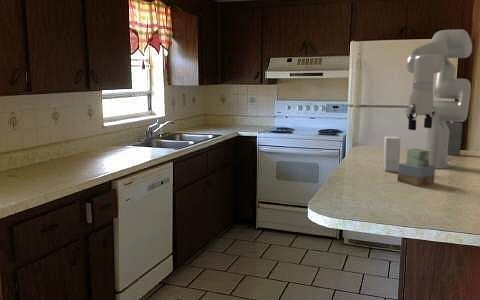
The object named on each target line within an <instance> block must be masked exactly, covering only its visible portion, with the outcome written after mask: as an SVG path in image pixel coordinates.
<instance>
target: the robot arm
mask: <svg viewBox="0 0 480 300" xmlns="http://www.w3.org/2000/svg"><path fill="white" fill-rule="evenodd" d="M472 51H473V44H472V39H471V37H470V35H469V32H468V31H466V30H465V29H462V28H461V29H459V28H458V29H443V30H439V31H437V32H435V33H434V34H433V36H432V38H431V40H430V41H429V42H428V43H425V44H423V45H421V46H418V47H416V48H415V49H413V50H412V51H411V53H410V54H409V56H408V57H407V60H406V69H407V71H408V72H409V73H410V74H413V79H412V89H411V90H410V95H409V99H408V100H409V101H408V107H407V108H406V109H405V113H406V117H407V120H408V130H409V131H416V130H417V118H418V116H425V117H424V122H423V123H424V124H423V128H425V129H427V134H426V147H425V150H428V151H430V153H429V164H431V165H435V170H436V169H440V170H445V169H449V168H451V164H450V163H448V162H451V161H452V160H453V158H452V157H451V156H449V157H448V155H447V152H448V141H449V129H448V127H447V125H446V124H445V123H444V122H445V121H450V123H463V122H465V121H466V120H467V118H468V113H469V107H470V99H471V91H472V87H471V86H472V85H471V82H470V80H468V79H467V78H456V77H455V76H456V66H455V65H454V64H453V62H452V61H451V60H450V59H466V58H468V57H470V55H471V54H472ZM434 97H435V98H437V99H446V100H434ZM447 99H448V100H447ZM449 99H450V100H449ZM454 100H455V101H454ZM456 100H457V101H456Z"/></svg>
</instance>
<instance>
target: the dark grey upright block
mask: <svg viewBox="0 0 480 300" xmlns="http://www.w3.org/2000/svg"><path fill="white" fill-rule="evenodd" d="M444 123H445V124H446V125H447V127H448V129H449V141H448V152H447V156H449V157H451V156H454V157H457V156H460V155H461V144H462V135H463V122H450V121H444Z"/></svg>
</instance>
